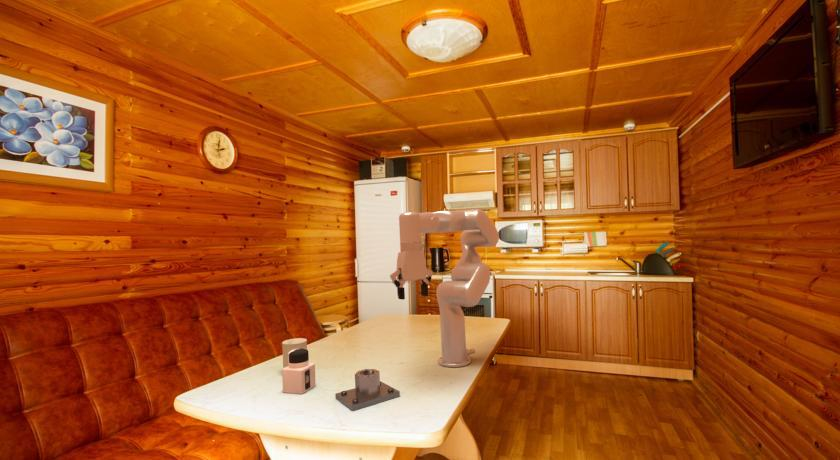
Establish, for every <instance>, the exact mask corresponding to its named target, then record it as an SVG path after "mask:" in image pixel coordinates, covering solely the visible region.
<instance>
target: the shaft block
mask: <svg viewBox="0 0 840 460" xmlns="http://www.w3.org/2000/svg"><path fill="white" fill-rule="evenodd" d="M334 395H335V400H337V401H338V402H339V403H341V404H342V405H344V407H346V408H347V409H349V410H350V411H352V412H355V411H357V410H361V409H364V408H367V407H370V406H373V405H377V404H381V403H383V402H386V401H389V400H392V399H393V400H394V399H396V398H400V397H401V391H400V390H398V389H397V388H395V387H392V386H390V385H389V384H386V383H384V382H383V381H381V380H380V392H379V393H378V394H377V395H374V396H371V397H359V396H358V395H356V391H355V387H354V388H352V389H348V390H342V391H341V392H336V393H335V394H334Z"/></svg>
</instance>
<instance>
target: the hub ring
mask: <svg viewBox="0 0 840 460" xmlns="http://www.w3.org/2000/svg"><path fill="white" fill-rule="evenodd" d="M380 381H381V379H380V370H378V369H376V368H364V369H362V370H361V369H360V370H357V372H355V373H354V384H355V385H354V388H355V391H356V395H358V396H359V397H371V396H374V395H377V394H378V393H379V392H380Z"/></svg>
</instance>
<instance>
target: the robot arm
mask: <svg viewBox="0 0 840 460" xmlns="http://www.w3.org/2000/svg"><path fill="white" fill-rule="evenodd" d="M398 222H399V223H398V225H399V243H400V244H399V245H400V246H399V247H400V251H399V252H398V253H397V258H396V270H395V271H394V272H392V273H391V274H389V278H390V279H391V281H392V284H393V285H395V287H396V289H397V291H396V292H397V293H396V294H397V298H398V299H399V300H405V299H406V296H405V294H406V293H405V292H406V291H405V287H404V286H405V283H406V282H413V281H419V282H421V284H420V296H423V297H428V296H429V284H430V282H431V281H432V277H433V274H434V271H433V270H432V269H430V268H428V267H427V261H426V256H425V252H424V251H423V249H424V248H425V244H423V242H422V241H423V240H422V234H432V233H434V234H435V233H436V234H438V233H439V234H440V233H441V234H443V233H452V232H461V234H460V243H461V251H462V253H461V256H460V258H459V260H458V261H457V263H456V264H455V266H454V268H453V269H452V272H451V274H450V279H451V280H445V281H442V282H441V283H439V284H438V286H437V287H436V291H435V294H436V299H437V303H438V308H439V321H440V322H439V323H440V324H439V325H440V341H441V342H440V344H441V357H439V358H438V360H437V361H438V364H439V365H440V366H442V367H446V368H447V367H448V368H459V367H460V368H461V367H465V366H469V364H471V362H472V361H471V360H472V359H471V358H470V357H469V356H470V355H474V354H476V349H475V348H471V349H468V348H467V342H466V338H467V337H466V323H465V322H466V318H465V317H466V316H465V313H464V310H463V309H462V307H467V308H471V307H472V308H473V307H475V306H476V305H478V304H479V302H480V301H481V298H483V295H484V294H485V292H486V289H487V287H488V286H489V283H490V280H491V270H490V267H489V266H488V265H487V264H486V263H483V262H482V258H481V256H480V255H481V254H480V253H479V252H478V251H477V248H491V247H494V246H496V245H497V244H498V243H499V239H500V235H499V231H498V229H497V228H496V225H495V224H494V223H493V221H492V220H491V218H490V217H489V216H488V214H487V213H486V212H485V211H484V210H482V209H481V208H470V209H460V210H459V209H457V210H440V211H435V212H434V211H433V212H432V211H427V212H425V211H424V212H416V211H415V212H413V211H409V212H402V213H400V214H399V216H398Z"/></svg>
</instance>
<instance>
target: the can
mask: <svg viewBox="0 0 840 460" xmlns="http://www.w3.org/2000/svg"><path fill="white" fill-rule="evenodd" d="M281 347H282V365H283V366H282V369H283V368H285V367H287V366H289V365H288V353H289V352H290V351H291V350H294V349H300V348H303V349H307V350H308V339H307V338H303V337H299V338H297V337H296V338H290V339H286V340H283V341H282V342H281Z"/></svg>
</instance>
